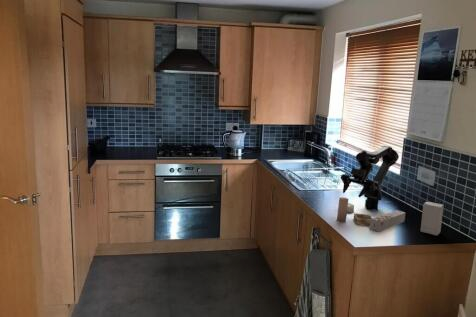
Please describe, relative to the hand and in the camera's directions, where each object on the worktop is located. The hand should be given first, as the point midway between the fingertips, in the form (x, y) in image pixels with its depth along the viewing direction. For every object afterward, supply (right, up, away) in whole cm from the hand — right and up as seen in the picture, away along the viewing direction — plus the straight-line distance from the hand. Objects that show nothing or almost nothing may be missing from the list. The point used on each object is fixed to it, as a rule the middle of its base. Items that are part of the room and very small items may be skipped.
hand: (351, 194), depth 217 cm
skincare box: (+36, -18, -12) cm, 42 cm away
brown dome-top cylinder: (-6, -13, -2) cm, 15 cm away
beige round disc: (+1, -10, +15) cm, 18 cm away
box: (+17, -16, -5) cm, 24 cm away
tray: (+5, -14, -3) cm, 15 cm away
